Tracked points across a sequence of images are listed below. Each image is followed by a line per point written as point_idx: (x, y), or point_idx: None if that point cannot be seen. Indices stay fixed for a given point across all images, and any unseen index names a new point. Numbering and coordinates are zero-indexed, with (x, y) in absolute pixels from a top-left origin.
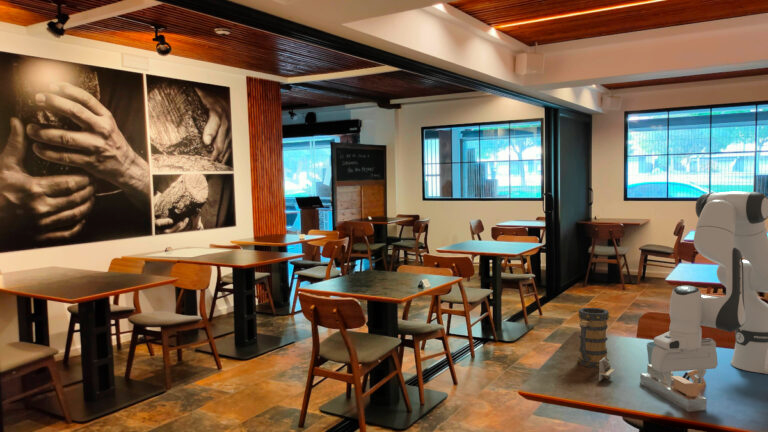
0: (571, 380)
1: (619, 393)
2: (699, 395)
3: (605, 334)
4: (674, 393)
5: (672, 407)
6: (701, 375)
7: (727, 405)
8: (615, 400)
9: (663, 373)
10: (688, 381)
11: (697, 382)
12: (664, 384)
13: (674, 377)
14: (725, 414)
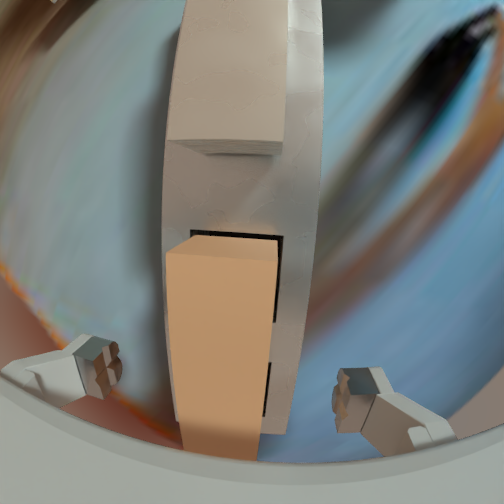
0: (17, 13)
1: (40, 120)
2: (285, 401)
3: None
4: (166, 322)
5: (151, 330)
6: (377, 445)
7: (417, 367)
8: (4, 196)
9: (16, 367)
10: (245, 407)
11: (333, 401)
12: (195, 165)
13: (186, 292)
14: (323, 432)
